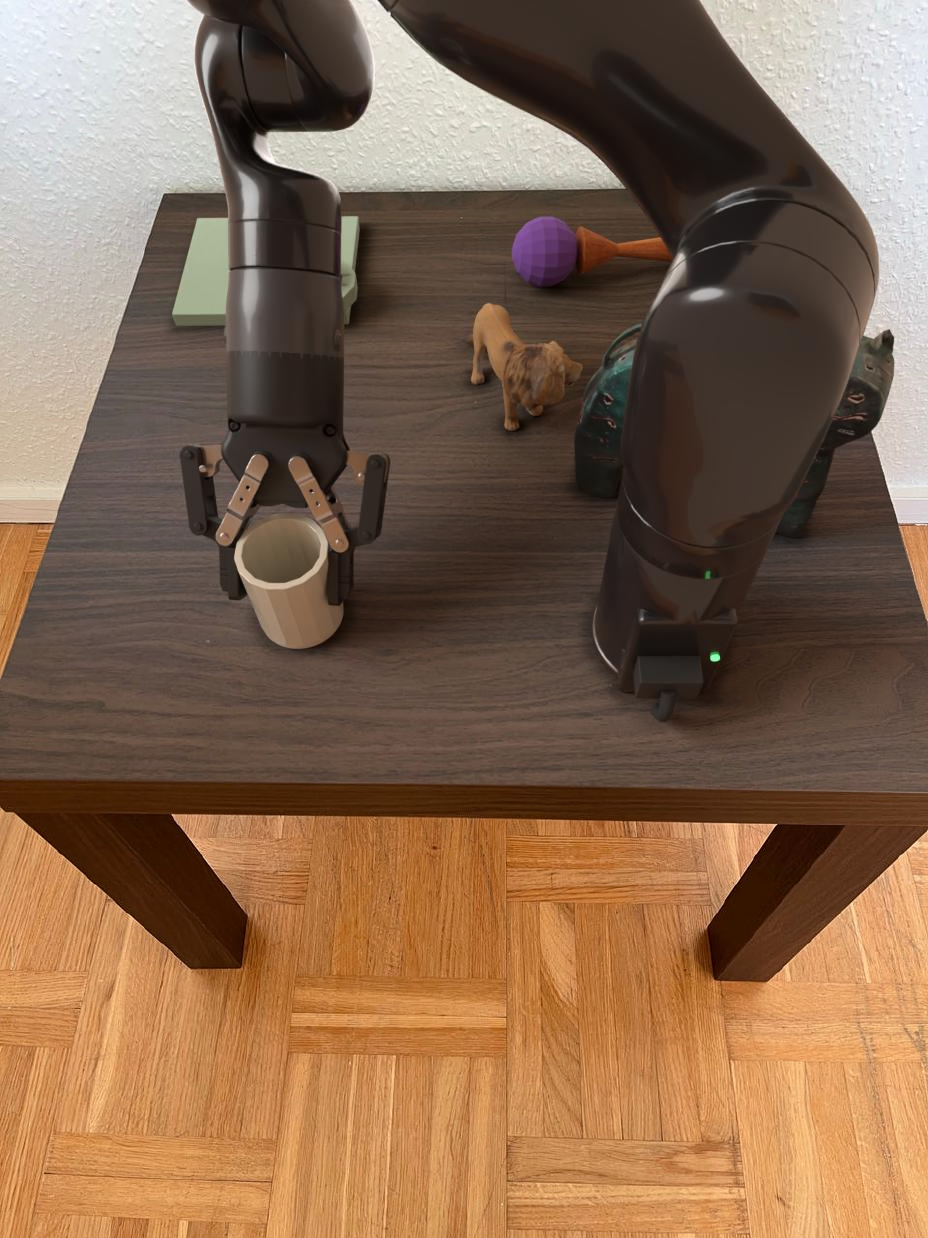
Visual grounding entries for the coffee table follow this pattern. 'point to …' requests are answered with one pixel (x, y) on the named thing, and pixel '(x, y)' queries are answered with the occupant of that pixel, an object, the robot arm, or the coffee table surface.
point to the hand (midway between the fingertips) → (286, 600)
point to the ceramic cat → (851, 422)
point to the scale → (210, 271)
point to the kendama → (571, 251)
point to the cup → (288, 579)
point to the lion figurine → (519, 364)
